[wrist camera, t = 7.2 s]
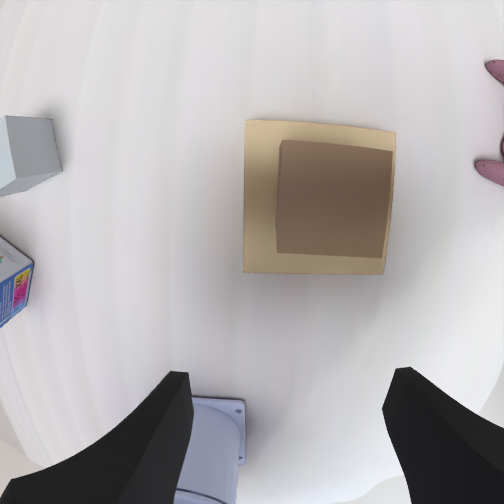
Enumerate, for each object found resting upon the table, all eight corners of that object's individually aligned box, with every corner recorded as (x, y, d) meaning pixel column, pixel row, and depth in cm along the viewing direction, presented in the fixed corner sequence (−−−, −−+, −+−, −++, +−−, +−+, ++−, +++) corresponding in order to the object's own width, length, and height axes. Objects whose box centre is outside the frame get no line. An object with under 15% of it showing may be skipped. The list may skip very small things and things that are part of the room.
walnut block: (351, 228, 16) (381, 258, 11) (275, 224, 16) (276, 252, 11) (357, 153, 15) (392, 151, 10) (279, 146, 15) (282, 139, 10)
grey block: (62, 171, 18) (16, 178, 13) (26, 190, 18) (-19, 202, 13) (51, 119, 17) (5, 115, 12) (16, 142, 17) (-30, 144, 12)
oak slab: (366, 258, 20) (383, 274, 17) (245, 255, 20) (242, 272, 17) (376, 135, 17) (395, 132, 14) (247, 126, 17) (245, 119, 14)
